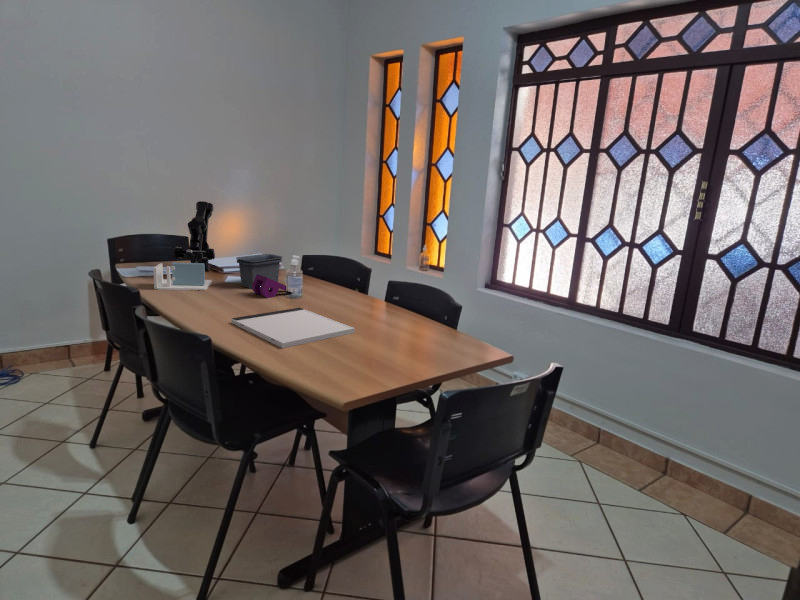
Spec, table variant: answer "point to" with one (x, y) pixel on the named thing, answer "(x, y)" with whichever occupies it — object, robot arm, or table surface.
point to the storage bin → (258, 267)
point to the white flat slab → (292, 327)
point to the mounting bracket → (266, 286)
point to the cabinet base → (167, 283)
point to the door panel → (188, 274)
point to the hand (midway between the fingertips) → (192, 267)
